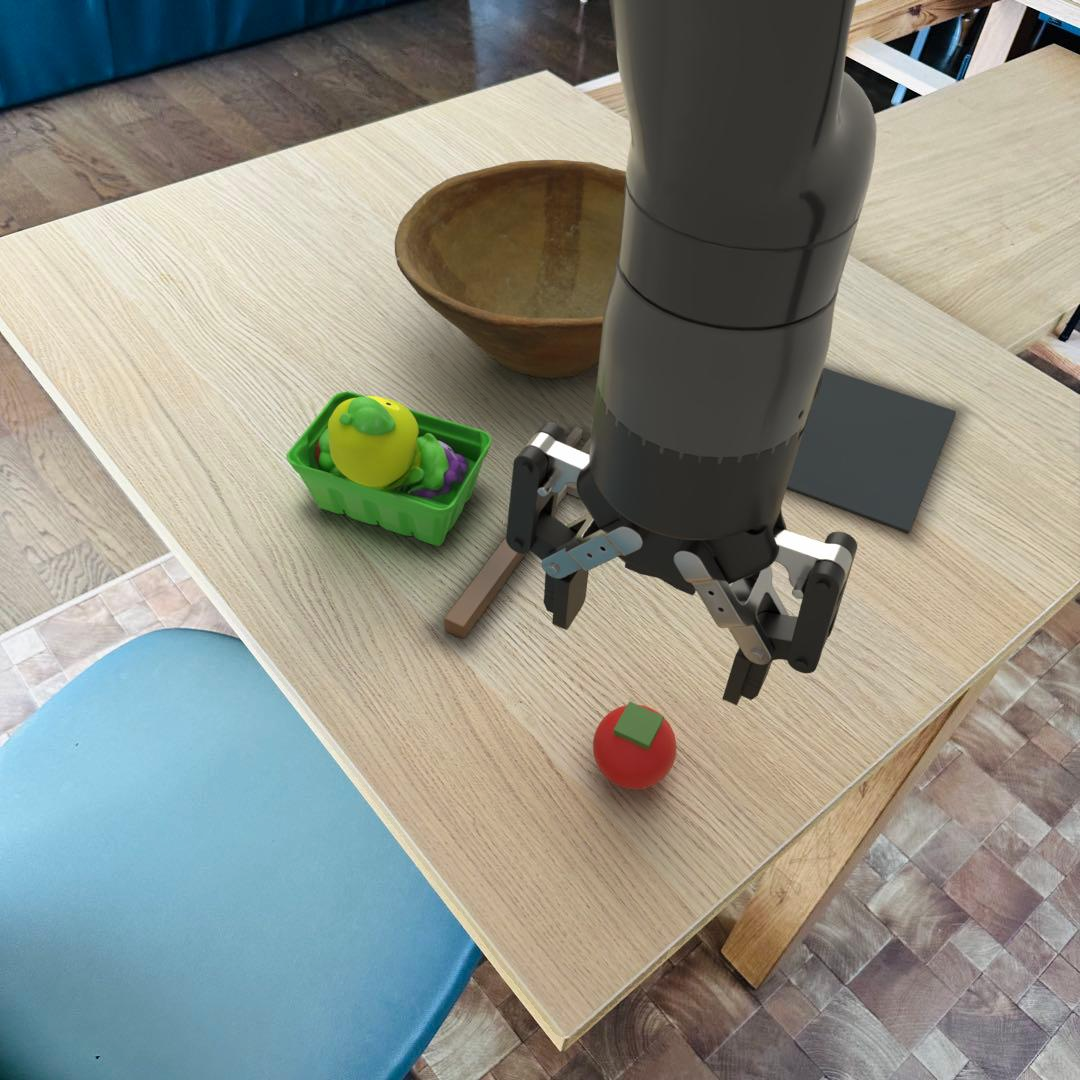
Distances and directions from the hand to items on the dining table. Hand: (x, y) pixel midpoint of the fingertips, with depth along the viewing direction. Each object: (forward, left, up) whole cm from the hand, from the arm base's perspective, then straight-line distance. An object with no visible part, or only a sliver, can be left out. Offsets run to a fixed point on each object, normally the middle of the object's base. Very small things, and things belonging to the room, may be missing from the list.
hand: (650, 651), depth 48 cm
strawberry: (0, 0, -11) cm, 11 cm away
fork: (+13, -12, -11) cm, 21 cm away
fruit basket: (+22, -10, -11) cm, 27 cm away
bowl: (+21, -31, -11) cm, 39 cm away
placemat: (-1, -32, -11) cm, 34 cm away
